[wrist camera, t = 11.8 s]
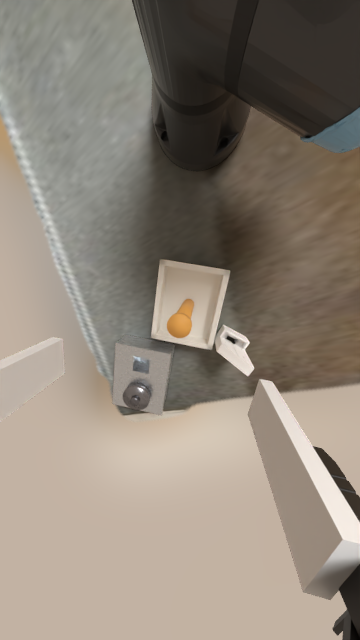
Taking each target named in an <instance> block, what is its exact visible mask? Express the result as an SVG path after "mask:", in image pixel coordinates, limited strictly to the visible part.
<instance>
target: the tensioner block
mask: <svg viewBox="0 0 360 640" xmlns="http://www.w3.org/2000/svg"><path fill="white" fill-rule="evenodd" d="M174 348H175V344H171V343H166V342H161V341H156V340H151V339H146V338H141V337H136V336H131V335H125V336H123V337H122V338H121V339H120V340H118V341H117V342H116V345H115V364H114V384H113V404H115V405H120V406H124V407H128V408H131V409H134V410H141V411H145V412H149V413H154V414H158V415H162V412H163V409H164V405H165V402H166V397H167V391H168V384H169V378H170V372H171V366H172V360H173V354H174Z"/></svg>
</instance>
